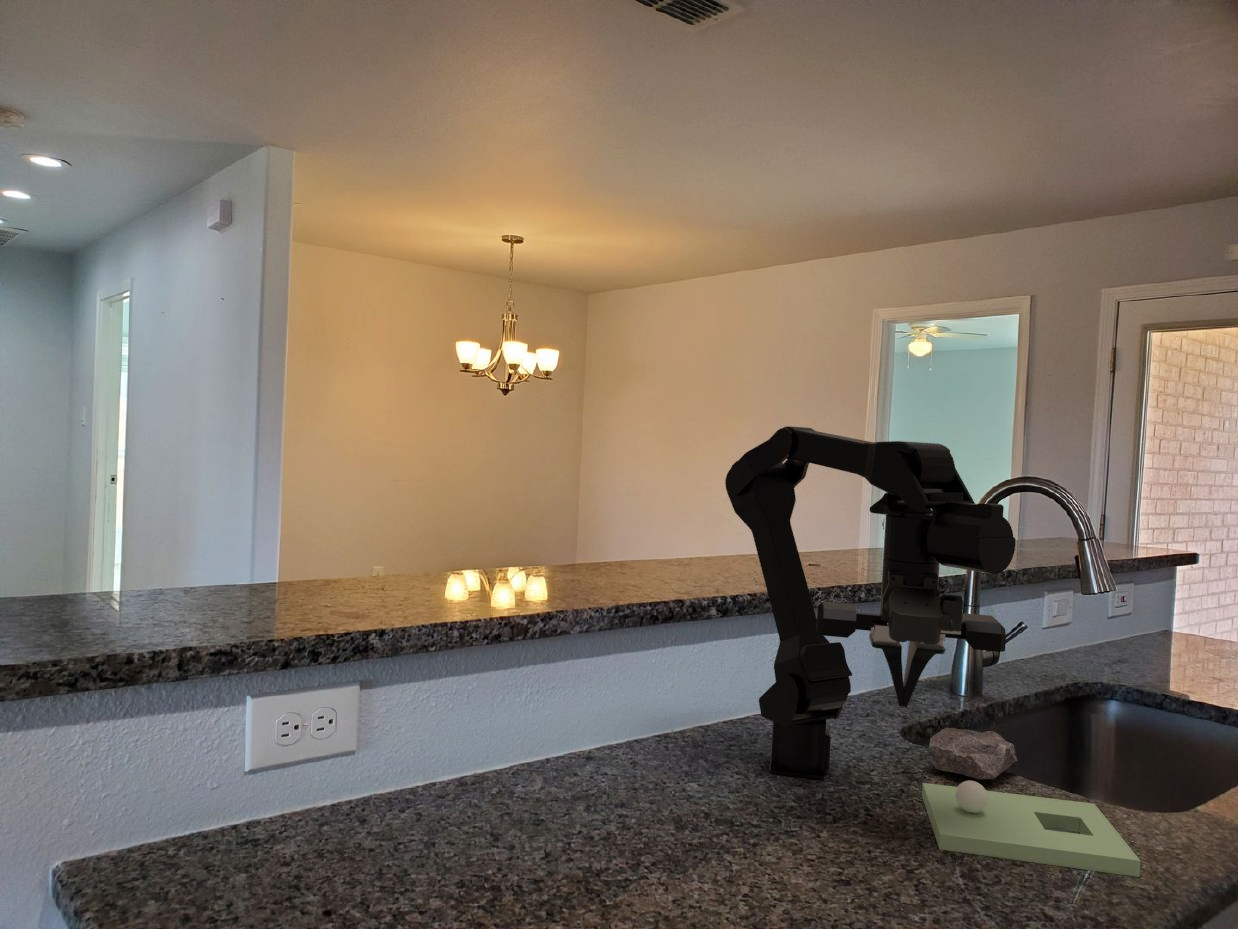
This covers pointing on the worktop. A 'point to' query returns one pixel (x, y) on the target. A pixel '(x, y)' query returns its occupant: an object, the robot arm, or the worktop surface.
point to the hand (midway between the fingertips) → (902, 706)
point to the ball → (971, 796)
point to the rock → (971, 753)
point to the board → (1030, 831)
